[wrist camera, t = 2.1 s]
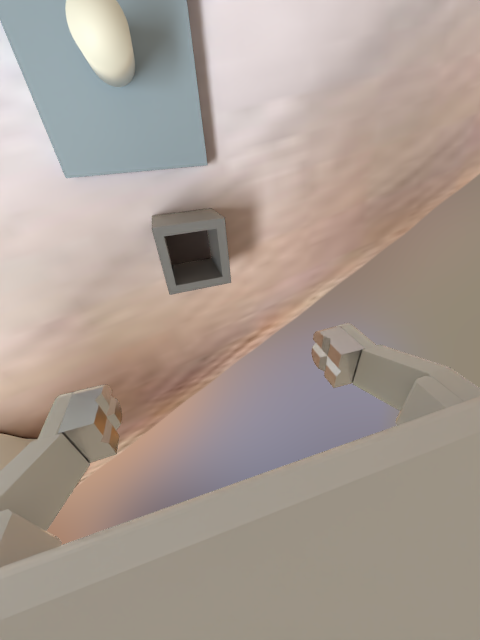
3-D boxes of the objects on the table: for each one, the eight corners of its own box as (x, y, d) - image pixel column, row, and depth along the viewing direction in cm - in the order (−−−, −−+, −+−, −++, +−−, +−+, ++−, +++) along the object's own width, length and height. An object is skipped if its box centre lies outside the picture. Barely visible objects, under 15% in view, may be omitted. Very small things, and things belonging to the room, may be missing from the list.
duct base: (204, 165, 23) (217, 164, 19) (70, 177, 21) (46, 180, 16) (171, -89, 16) (179, -204, 11) (-48, -116, 13) (-165, -280, 8)
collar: (218, 263, 29) (231, 282, 24) (166, 272, 28) (169, 294, 23) (211, 208, 26) (224, 217, 21) (152, 215, 24) (151, 227, 20)
